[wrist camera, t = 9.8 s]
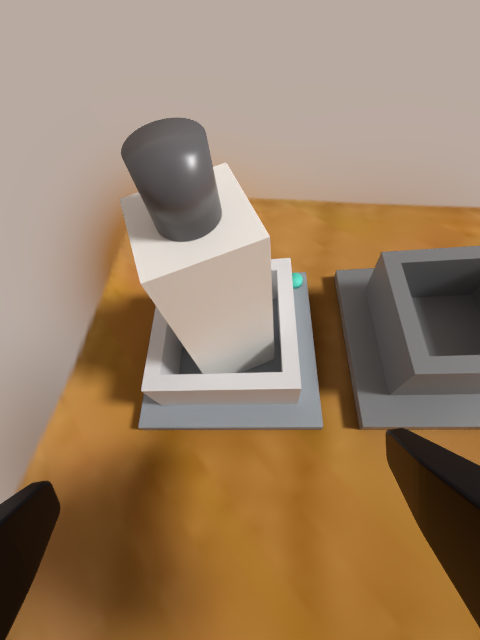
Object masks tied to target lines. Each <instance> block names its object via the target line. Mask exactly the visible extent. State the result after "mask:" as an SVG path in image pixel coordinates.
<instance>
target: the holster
mask: <svg viewBox="0 0 480 640" xmlns="http://www.w3.org/2000/svg"><path fill="white" fill-rule="evenodd" d="M334 279H335V285H336V291H337V297H338V303H339V309H340V315H341V321H342V327H343V333H344V339H345V345H346V351H347V357H348V363H349V369H350V375H351V381H352V387H353V393H354V399H355V405H356V411H357V417H358V423H359V429H360V430H389V429H395V428H405V429H480V246H470V247H454V248H438V249H422V250H406V251H390V252H382V253H381V255H380V257H379V259H378V262H377V264H376V266H375V268H370V269H353V270H336V273H335V277H334Z"/></svg>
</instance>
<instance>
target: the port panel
mask: <svg viewBox="0 0 480 640" xmlns="http://www.w3.org/2000/svg"><path fill="white" fill-rule="evenodd" d="M271 276H272V304H273V331H274V360H272V361H269V362H267V363H264V364H262V365H259V366H257V367H254V368H251V369H249V370H246V371H244V372H241V373H221V374H203V373H202V372H201V370H200V369H199V367H198V366H197V365H196V363H195V362H194V360H193V359H192V357H191V356H190V354H189V353H188V352H187V350H186V349H185V347H184V346H183V344H182V343H181V341H180V340H179V339H178V337H177V336H176V334H175V333H174V331H173V330H172V328H171V327H170V326H169V324H168V323H167V321H166V320H165V318H164V317H163V315H162V314H161V313H160V311H159V310H158V308H157V307H156V308H155V313H154V319H153V325H152V330H151V336H150V342H149V348H148V353H147V359H146V365H145V371H144V376H143V382H142V388H141V392H143V393H144V396H143V402H142V408H141V414H140V420H139V426H138V428H140V429H142V430H321V429H322V428H323V421H322V412H321V404H320V395H319V386H318V377H317V368H316V359H315V350H314V341H313V332H312V323H311V314H310V305H309V297H308V288H307V279H306V272H300V273H292V270H291V258H283V259H271Z"/></svg>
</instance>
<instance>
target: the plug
mask: <svg viewBox="0 0 480 640" xmlns="http://www.w3.org/2000/svg"><path fill="white" fill-rule="evenodd" d="M121 155H122V158H123V160H124V162H125V164H126V167H127V168H128V171H129V173H130V175H131V177H132V179H133V181H134V183H135V185H136V187H137V189H138V191H139V192H138V193H135V194H132V195H129V196H126V197H124V198H120V203H121V206H122V211H123V215H124V218H125V223H126V227H127V231H128V235H129V239H130V243H131V247H132V251H133V255H134V259H135V263H136V267H137V271H138V275H139V279H140V283H141V285H142V287H143V288H144V289H145V291H146V292H147V294H148V295H149V297H150V298H151V300H152V301H153V302H154V304H155V305H156V307H157V308H158V310H159V311H160V313H161V314H162V315H163V317H164V318H165V320H166V321H167V323H168V324H169V326H170V327H171V328H172V330H173V331H174V333H175V334H176V336H177V337H178V339H179V340H180V341H181V343H182V344H183V346H184V347H185V349H186V350H187V352H188V353H189V354H190V356H191V357H192V359H193V360H194V362H195V363H196V365H197V366H198V367H199V369H200V370H201V372H202V373H203V374H221V373H241V372H244V371H246V370H249V369H251V368H254V367H257V366H259V365H262V364H264V363H267V362H269V361H272V360H274V331H273V304H272V276H271V249H270V236H269V234H268V233H267V231H266V229H265V227H264V226H263V224H262V222H261V221H260V219H259V217H258V216H257V214H256V212H255V210H254V209H253V207H252V205H251V204H250V202H249V200H248V199H247V197H246V195H245V193H244V192H243V190H242V188H241V187H240V185H239V183H238V182H237V180H236V178H235V176H234V175H233V173H232V171H231V170H230V168H229V166H228V165H227V163H223V164H220V165H217V166H215V167H213V165H212V160H211V156H210V151H209V146H208V142H207V136H206V132H205V130H204V128H203V127H202V126H201V125H200V124H199V123H197V122H195V121H193V120H190V119H186V118H167V119H162V120H158V121H154V122H151V123H149V124H147V125H144V126H142V127H141V128H139V129H137V130H136V131H134V132H133V133H132V134H131V135H130V136H129V137H128V138H127V139H126V141H125V142H124V144H123V146H122V149H121Z"/></svg>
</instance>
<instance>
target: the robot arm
mask: <svg viewBox="0 0 480 640" xmlns="http://www.w3.org/2000/svg"><path fill="white" fill-rule="evenodd" d="M386 455H387V461H388V464H389V467H390V469H391V471H392V473H393V475H394V477H395V479H396V481H397V483H398V485H399V487H400V489H401V491H402V493H403V496H404V498H405V500H406V502H407V504H408V506H409V508H410V510H411V512H412V514H413V516H414V518H415V520H416V522H417V524H418V526H419V528H420V530H421V532H422V533H423V535H424V537H425V538H426V540H427V542H428V543H429V545H430V547H431V548H432V550H433V552H434V553H435V555H436V557H437V558H438V560H439V562H440V563H441V565H442V567H443V568H444V570H445V571H446V573H447V575H448V576H449V578H450V580H451V581H452V583H453V585H454V586H455V588H456V590H457V591H458V593H459V595H460V596H461V598H462V600H463V601H464V603H465V604H466V606H467V608H468V609H469V611H470V613H471V614H472V616H473V618H474V619H475V621H476V623H477V624H478V626H479V628H480V466H479V465H477V464H475V463H473V462H471V461H469V460H467V459H465V458H463V457H461V456H459V455H457V454H455V453H453V452H451V451H449V450H447V449H445V448H443V447H441V446H439V445H437V444H435V443H433V442H431V441H429V440H427V439H425V438H423V437H421V436H419V435H417V434H415V433H413V432H411V431H409V430H407V429H405V428H395V429H389V430H387V431H386ZM59 513H60V503H59V500H58V498H57V495H56V493H55V491H54V488H53V486H52V484H51V483H50V482H49V481H40V482H34V483H31V484H30V485H28V486H27V487H25V488H24V489H22V490H21V491H19V492H18V493H16V494H15V495H13V496H12V497H10V498H9V499H7V500H6V501H4V502H3V503H1V504H0V640H5V639H6V637H7V635H8V633H9V631H10V629H11V627H12V625H13V623H14V621H15V618H16V616H17V614H18V612H19V610H20V608H21V606H22V604H23V602H24V600H25V598H26V595H27V593H28V591H29V589H30V587H31V585H32V582H33V580H34V578H35V575H36V573H37V570H38V568H39V565H40V563H41V560H42V558H43V555H44V552H45V550H46V547H47V545H48V542H49V540H50V537H51V534H52V532H53V529H54V527H55V524H56V521H57V519H58V516H59Z"/></svg>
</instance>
